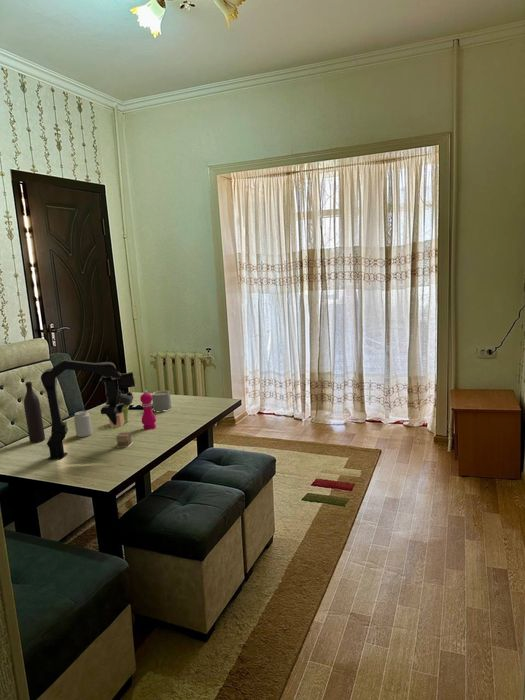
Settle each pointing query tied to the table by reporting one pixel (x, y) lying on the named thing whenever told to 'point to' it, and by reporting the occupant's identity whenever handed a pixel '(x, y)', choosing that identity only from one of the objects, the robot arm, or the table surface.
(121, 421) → the terracotta block
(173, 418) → the table surface
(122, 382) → the robot arm
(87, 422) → the can
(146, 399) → the pepper mill
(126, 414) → the plant pot
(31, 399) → the wine bottle
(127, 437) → the walnut base block
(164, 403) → the coffee mug
